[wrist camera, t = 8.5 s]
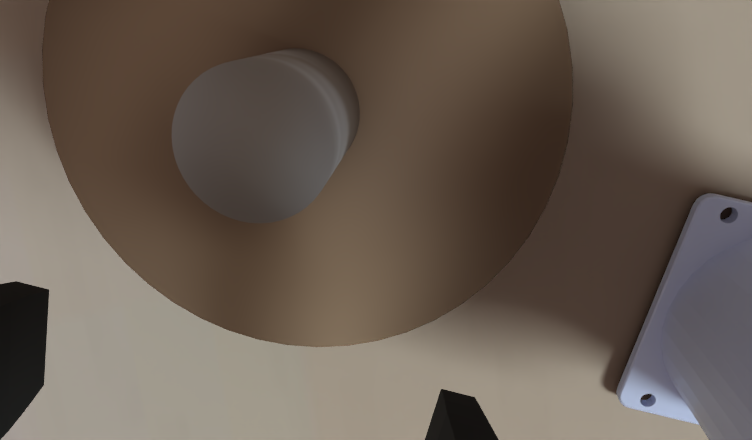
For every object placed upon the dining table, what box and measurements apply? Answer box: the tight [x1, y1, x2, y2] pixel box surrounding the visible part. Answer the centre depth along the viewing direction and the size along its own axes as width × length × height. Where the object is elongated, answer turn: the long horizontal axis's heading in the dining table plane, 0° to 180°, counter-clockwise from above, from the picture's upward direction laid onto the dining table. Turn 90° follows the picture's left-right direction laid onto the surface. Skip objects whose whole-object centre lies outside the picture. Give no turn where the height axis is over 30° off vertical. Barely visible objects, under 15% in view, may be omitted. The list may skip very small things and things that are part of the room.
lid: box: [42, 0, 573, 347], centre depth 13 cm, size 13×13×5 cm
